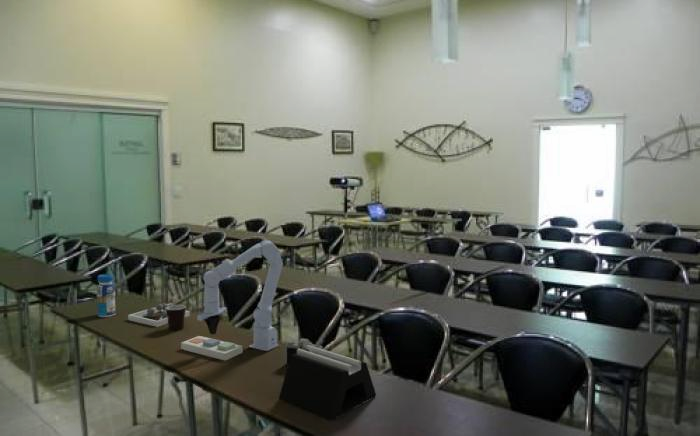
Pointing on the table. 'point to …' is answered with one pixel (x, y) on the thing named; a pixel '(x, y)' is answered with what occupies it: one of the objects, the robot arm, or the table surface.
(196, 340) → the terracotta key
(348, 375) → the device stand
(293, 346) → the camera
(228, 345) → the sage key
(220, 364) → the table surface
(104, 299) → the beverage bottle
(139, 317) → the display tray
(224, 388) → the table surface
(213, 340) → the slate key
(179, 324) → the coffee mug
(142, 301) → the table surface
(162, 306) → the molecule model
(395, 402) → the table surface
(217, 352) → the keypad
